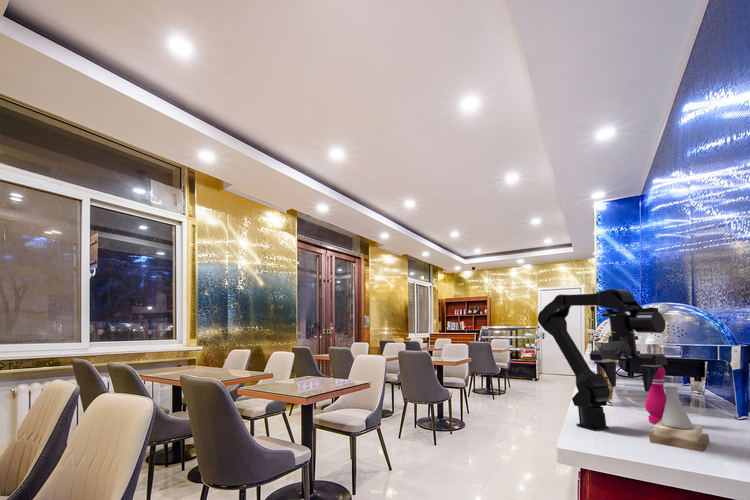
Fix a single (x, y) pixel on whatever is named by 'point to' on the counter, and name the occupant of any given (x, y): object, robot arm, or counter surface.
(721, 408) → the counter surface
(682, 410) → the flask
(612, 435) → the counter surface
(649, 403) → the pepper mill
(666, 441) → the tower base
